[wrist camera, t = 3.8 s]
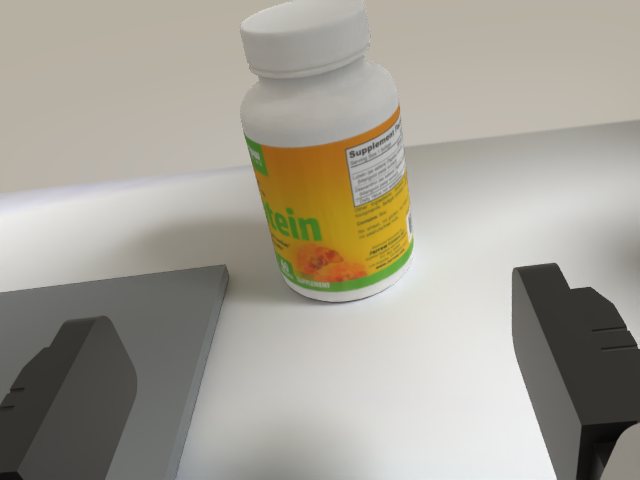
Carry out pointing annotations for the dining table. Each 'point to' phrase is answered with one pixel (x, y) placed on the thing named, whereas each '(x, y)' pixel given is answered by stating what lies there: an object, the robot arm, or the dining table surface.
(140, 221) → the dining table surface
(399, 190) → the supplement bottle
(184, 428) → the placemat
